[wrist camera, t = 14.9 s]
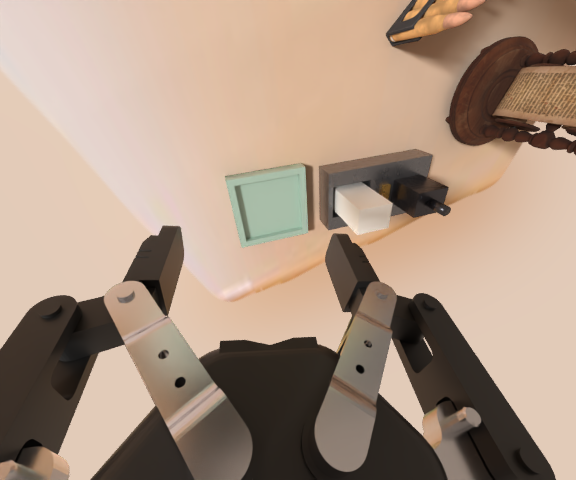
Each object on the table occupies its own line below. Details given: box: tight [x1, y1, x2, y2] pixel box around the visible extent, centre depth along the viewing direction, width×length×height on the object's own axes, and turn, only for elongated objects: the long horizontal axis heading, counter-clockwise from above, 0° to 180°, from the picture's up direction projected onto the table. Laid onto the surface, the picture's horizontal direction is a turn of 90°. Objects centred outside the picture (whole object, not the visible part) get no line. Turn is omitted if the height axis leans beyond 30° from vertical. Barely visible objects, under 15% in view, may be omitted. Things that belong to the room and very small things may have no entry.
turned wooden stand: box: [446, 36, 576, 155], centre depth 33 cm, size 15×15×20 cm
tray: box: [225, 163, 308, 248], centre depth 40 cm, size 12×12×2 cm
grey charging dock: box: [319, 149, 451, 230], centre depth 39 cm, size 10×18×13 cm, turn 95°
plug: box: [333, 182, 393, 235], centre depth 39 cm, size 4×5×10 cm
